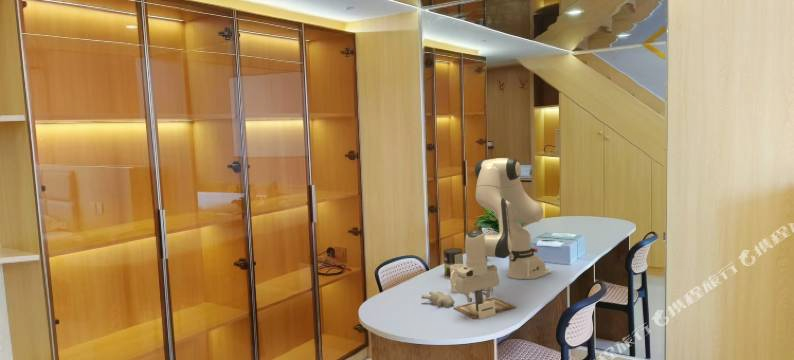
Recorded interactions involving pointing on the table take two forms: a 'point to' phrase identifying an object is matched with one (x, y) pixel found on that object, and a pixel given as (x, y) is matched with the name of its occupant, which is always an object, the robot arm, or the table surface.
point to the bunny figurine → (439, 299)
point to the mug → (454, 275)
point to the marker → (478, 298)
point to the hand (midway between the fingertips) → (478, 299)
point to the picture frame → (471, 308)
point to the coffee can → (452, 259)
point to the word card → (486, 309)
